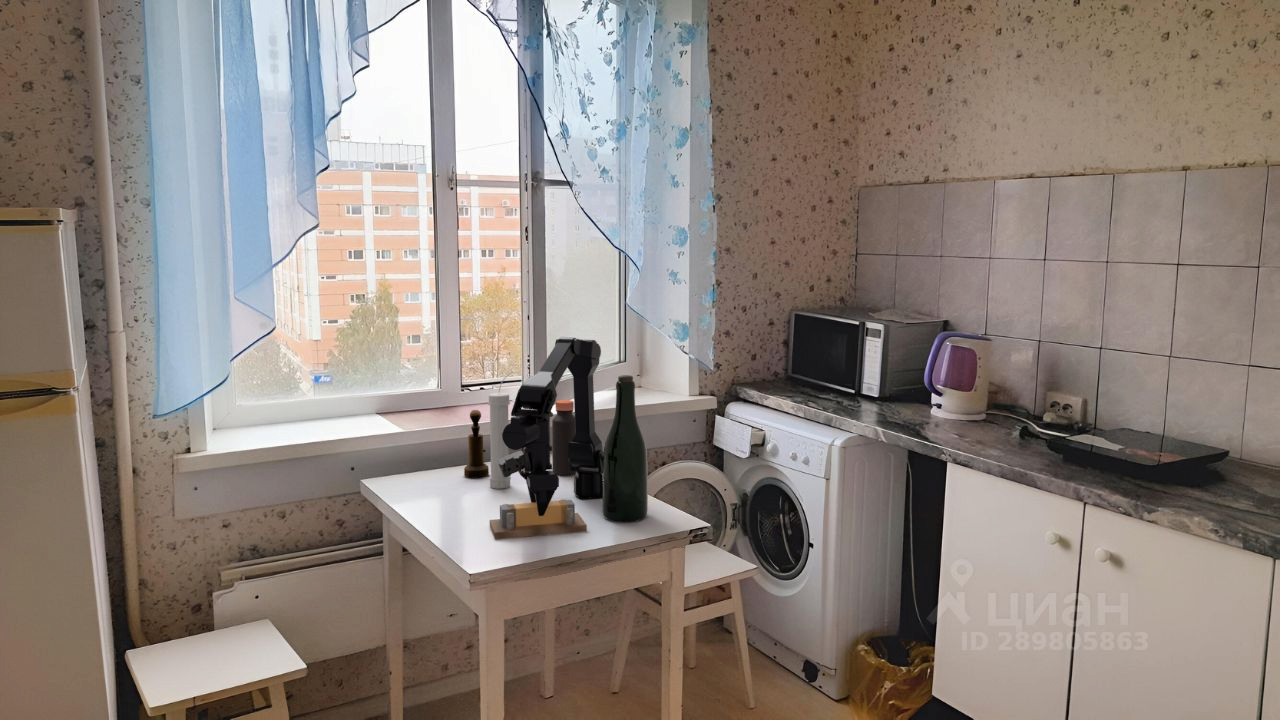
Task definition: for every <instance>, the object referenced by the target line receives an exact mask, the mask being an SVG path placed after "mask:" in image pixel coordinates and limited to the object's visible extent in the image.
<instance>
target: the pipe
mask: <svg viewBox="0 0 1280 720" xmlns="http://www.w3.org/2000/svg"><path fill="white" fill-rule="evenodd" d="M512 373H513V371H511V372H510V373H508V374H507V375H506V376H505V377H504V378H503V380H502V381H501V382H500V385H499V387H498V392H493V393H489V394H488V402H487V403H488V406H489V423H490V424H489V429H490V430H489V435H490V476H489V478H488V479H489V486H490V488H491V489H496V490H502V489H503V490H505V489H508V488H510V487H511V479H512V477H511V476H512V475H511V476H508V477H504V476H503V474H502V472H501V470H500V467H499V465H498V462H497V460H498V459H500V458H502V457H505V456H507V455H510V448H508V447H507V446H506V445H505V443H504V441H503V438H502V433H503V430H504V428H505V427H506V426H507V425H508V424H509V405H510V404H511V403H510V402H511V401H510V394H509V393H506V392H500V390H501V387H502V384H503V382H504V380H505V379H506V378H507V377H508V376H510V375H511V374H512Z"/></svg>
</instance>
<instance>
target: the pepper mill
mask: <svg viewBox="0 0 1280 720" xmlns="http://www.w3.org/2000/svg"><path fill="white" fill-rule="evenodd" d="M469 418H470V420H471V422H472V426H470V427H471V432H472V433H471V434H469V435H468V437H467V438H468V464H466V465H465V467H464V468H463V469H464V470H463V471H464V475H463V476H464V478H467V477H468V478H467V479H481V477H482V478H485V477H487V476H489V473H490V471H489V465H488V464H486V463H485V461H484V460H485V459H484V434H482V433H480V428H481V426H480V425H479V422H480V420H481V418H482V413H481V411H480V410H478V409H473V410H471V411H470V413H469Z"/></svg>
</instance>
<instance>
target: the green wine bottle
mask: <svg viewBox="0 0 1280 720" xmlns="http://www.w3.org/2000/svg"><path fill="white" fill-rule="evenodd" d="M615 390H616V391H615V392H616V394H615V395H616V397H615V399H616V401H615V408H614V409H615V410H614V416H613V420H612V424H611V426H610V429H609V432H608V434H607V437H606V439H605V442H604V447H603V452H604V459H603V497H602V516H603V517H604V518H605V519H607V520H609V521H611V522H616V523H633V522H638V521H641V520H644V519H645V518H646V517H647V516H648V510H649V509H648V507H649V506H648V505H649V501H648V500H649V497H648V496H649V495H648V493H649V490H648V482H649V481H648V480H649V479H648V452H647V451H648V450H647V445H646V440H645V437H644V436H643V435H644V434H643V432H642V429H641V426H640V424H639V421H638V417H637V411H636V410H637V409H636V397H635V396H636V382H635V381H634V376H633V375H630V374H629V375H628V374H627V375H626V374H622V375H618V379H617V381H616V383H615Z"/></svg>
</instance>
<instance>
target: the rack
mask: <svg viewBox="0 0 1280 720" xmlns="http://www.w3.org/2000/svg"><path fill="white" fill-rule="evenodd" d="M502 505H508V503H503V504H502ZM587 526H588V525H587V523H586V521H584V519H582V516H580V514H579V513H578V512H575V522H573V508H567V509H566V522H565V523H553V524H541V525H529V526H518V527H514V513H507V527H506V528H502V526H501V524H500V518H499V519H489V528H490V531H491V533H492V535H493V539H494V540H503V539H513V538H524V537H525V538H527V537H536V536H537V535H539V536H547V535H548V534H550V535H560V533H562V534H569V533H570V534H572V533H583V532H587ZM548 536H549V535H548Z"/></svg>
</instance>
